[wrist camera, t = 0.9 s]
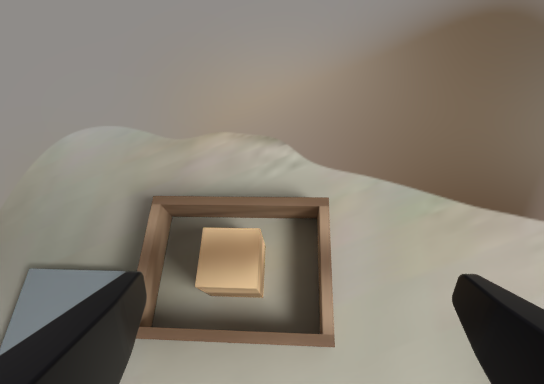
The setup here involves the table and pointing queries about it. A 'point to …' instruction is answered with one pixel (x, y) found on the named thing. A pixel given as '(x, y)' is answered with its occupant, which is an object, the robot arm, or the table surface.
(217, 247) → the beech block
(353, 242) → the table surface
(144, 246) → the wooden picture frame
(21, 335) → the slate pad
